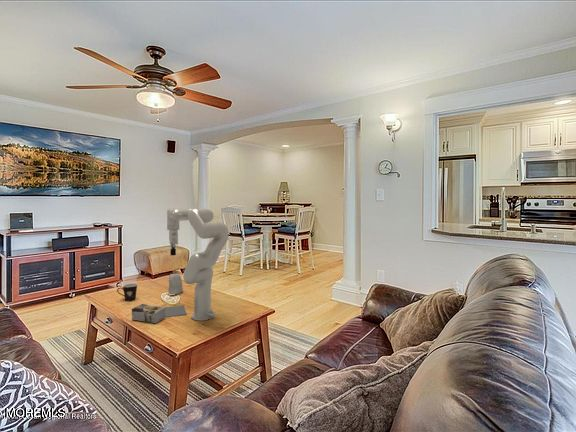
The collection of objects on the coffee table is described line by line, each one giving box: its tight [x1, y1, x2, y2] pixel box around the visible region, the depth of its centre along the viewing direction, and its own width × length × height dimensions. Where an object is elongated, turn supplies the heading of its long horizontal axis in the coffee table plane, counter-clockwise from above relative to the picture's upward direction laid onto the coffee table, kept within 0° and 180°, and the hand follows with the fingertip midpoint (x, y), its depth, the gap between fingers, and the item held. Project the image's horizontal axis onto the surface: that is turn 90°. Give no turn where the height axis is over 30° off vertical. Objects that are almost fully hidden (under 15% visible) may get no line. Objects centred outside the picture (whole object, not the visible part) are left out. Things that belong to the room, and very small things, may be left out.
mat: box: [164, 304, 188, 318], centre depth 193 cm, size 16×24×1 cm, turn 114°
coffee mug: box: [116, 283, 138, 302], centre depth 213 cm, size 12×9×10 cm
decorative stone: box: [168, 273, 184, 295], centre depth 227 cm, size 11×6×15 cm, turn 154°
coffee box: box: [131, 303, 166, 324], centre depth 182 cm, size 9×6×16 cm
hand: (173, 255), depth 205 cm, fingers closed
